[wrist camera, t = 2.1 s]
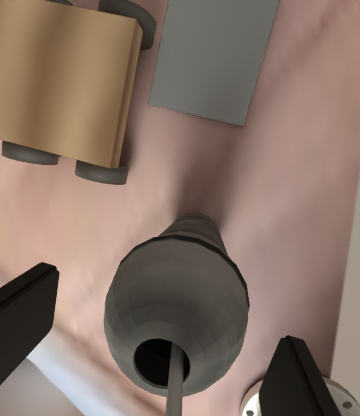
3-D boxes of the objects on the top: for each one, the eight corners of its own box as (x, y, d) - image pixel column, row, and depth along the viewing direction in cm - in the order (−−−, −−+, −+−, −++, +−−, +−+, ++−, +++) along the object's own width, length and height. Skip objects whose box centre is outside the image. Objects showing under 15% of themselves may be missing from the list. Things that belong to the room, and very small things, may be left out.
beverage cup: (186, 183, 23) (17, 317, 3) (248, 227, 23) (447, 624, 3) (146, 241, 24) (-118, 551, 5) (204, 282, 24) (161, 754, 5)
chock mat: (279, -3, 19) (281, -8, 18) (242, 126, 21) (243, 126, 20) (175, -22, 20) (174, -28, 19) (149, 105, 22) (148, 103, 21)
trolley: (161, 35, 21) (86, -140, 9) (132, 182, 23) (45, 204, 11) (39, 10, 22) (-182, -179, 10) (25, 153, 24) (-157, 146, 12)
